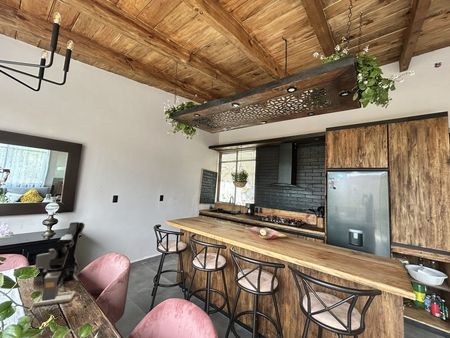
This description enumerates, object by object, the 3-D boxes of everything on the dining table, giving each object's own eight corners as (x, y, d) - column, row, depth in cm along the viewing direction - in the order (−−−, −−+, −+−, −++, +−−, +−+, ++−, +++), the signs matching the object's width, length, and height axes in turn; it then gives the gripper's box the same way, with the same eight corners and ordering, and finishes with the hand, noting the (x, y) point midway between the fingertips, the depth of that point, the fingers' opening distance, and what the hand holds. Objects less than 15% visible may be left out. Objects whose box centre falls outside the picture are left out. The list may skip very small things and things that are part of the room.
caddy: (45, 295, 112) (48, 273, 113) (58, 294, 114) (60, 271, 115) (41, 301, 107) (44, 277, 108) (54, 299, 110) (57, 275, 110)
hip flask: (33, 283, 134) (37, 252, 136) (32, 280, 137) (36, 250, 139) (63, 276, 146) (66, 247, 148) (62, 274, 149) (65, 246, 150)
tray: (40, 298, 118) (40, 295, 118) (74, 293, 125) (75, 290, 125) (33, 306, 110) (33, 303, 110) (70, 301, 117) (70, 298, 117)
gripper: (37, 253, 113) (24, 282, 102) (77, 250, 120) (69, 278, 109) (41, 262, 119) (30, 291, 108) (79, 259, 127) (72, 286, 116)
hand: (50, 286), depth 110 cm, fingers closed on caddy, 5 cm apart
